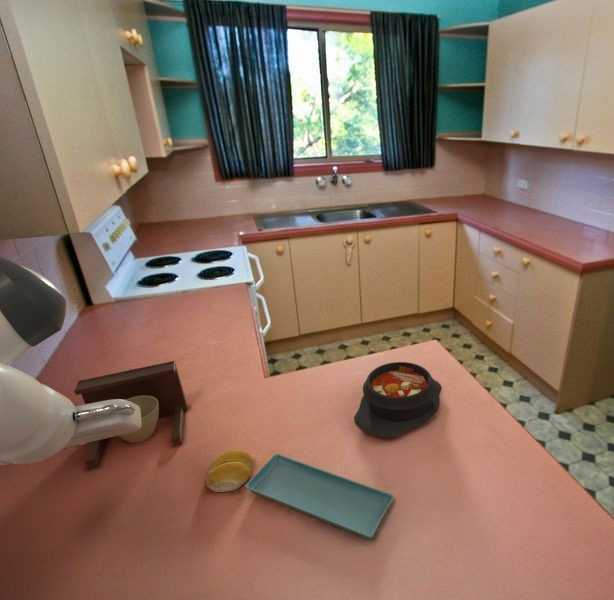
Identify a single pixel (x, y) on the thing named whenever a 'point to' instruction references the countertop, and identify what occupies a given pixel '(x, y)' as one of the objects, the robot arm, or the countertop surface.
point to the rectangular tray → (321, 495)
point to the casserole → (397, 399)
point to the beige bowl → (144, 418)
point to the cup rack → (134, 383)
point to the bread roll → (229, 471)
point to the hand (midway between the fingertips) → (73, 441)
